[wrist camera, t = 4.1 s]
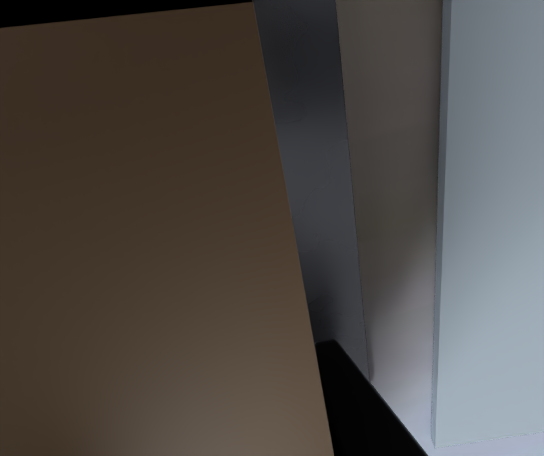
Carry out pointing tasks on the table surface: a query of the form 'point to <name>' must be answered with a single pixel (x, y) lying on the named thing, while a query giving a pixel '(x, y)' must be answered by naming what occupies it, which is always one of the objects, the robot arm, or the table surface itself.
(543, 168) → the blue-grey mat
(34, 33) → the walnut bar
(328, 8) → the dark grey u-shaped stand
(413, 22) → the table surface
